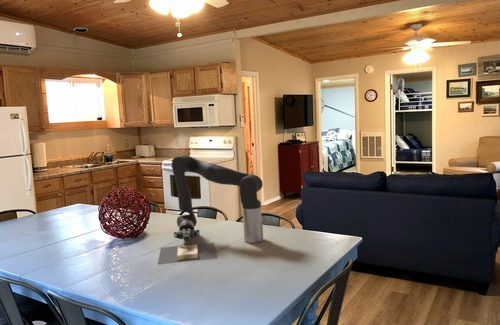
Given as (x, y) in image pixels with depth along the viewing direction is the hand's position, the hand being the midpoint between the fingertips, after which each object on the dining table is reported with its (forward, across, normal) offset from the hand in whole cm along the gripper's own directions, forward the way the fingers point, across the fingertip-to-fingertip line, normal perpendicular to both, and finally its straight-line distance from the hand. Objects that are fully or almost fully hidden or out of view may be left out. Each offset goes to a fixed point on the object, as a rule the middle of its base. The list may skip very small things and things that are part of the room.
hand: (186, 238), depth 185 cm
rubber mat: (0, 0, +8) cm, 8 cm away
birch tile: (-5, 0, +6) cm, 7 cm away
